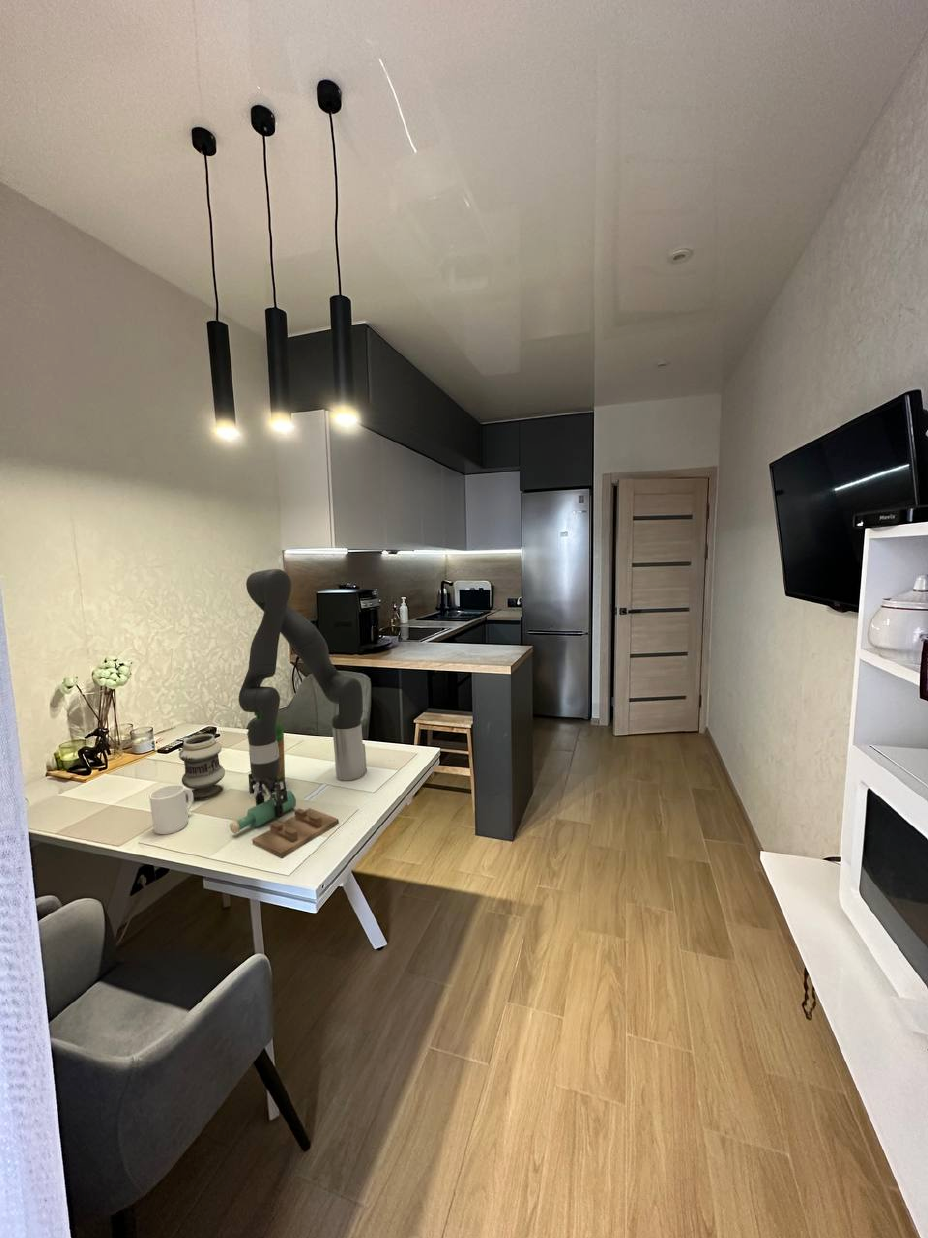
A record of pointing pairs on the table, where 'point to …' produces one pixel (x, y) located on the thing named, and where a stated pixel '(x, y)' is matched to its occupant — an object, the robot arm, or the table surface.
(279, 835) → the bottle rest
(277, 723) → the bottle
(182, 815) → the mug
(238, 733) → the table surface
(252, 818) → the bottle
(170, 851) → the table surface
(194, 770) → the apothecary jar
